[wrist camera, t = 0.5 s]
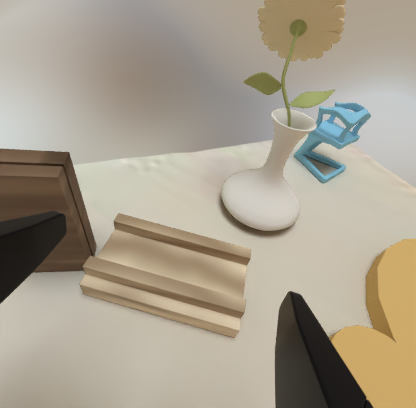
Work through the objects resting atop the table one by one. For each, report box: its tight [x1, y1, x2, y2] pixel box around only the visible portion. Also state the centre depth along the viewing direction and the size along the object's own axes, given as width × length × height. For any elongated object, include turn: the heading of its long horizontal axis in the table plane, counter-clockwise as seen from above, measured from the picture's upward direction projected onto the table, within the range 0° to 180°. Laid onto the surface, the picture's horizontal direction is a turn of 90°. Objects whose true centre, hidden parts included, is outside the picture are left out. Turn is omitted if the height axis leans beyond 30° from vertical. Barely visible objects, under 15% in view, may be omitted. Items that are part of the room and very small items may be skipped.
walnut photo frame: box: [0, 149, 96, 272], centre depth 22 cm, size 3×6×12 cm, turn 98°
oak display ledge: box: [79, 213, 251, 338], centre depth 25 cm, size 9×15×3 cm, turn 78°
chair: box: [294, 102, 371, 183], centre depth 43 cm, size 8×8×12 cm
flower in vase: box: [221, 0, 346, 231], centre depth 28 cm, size 13×11×25 cm
